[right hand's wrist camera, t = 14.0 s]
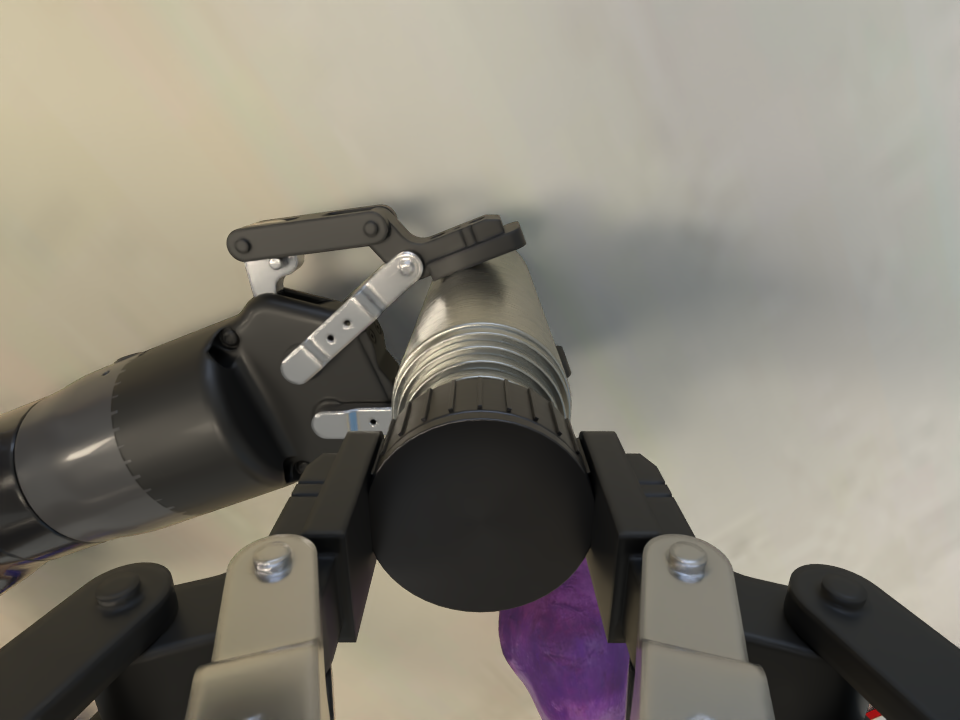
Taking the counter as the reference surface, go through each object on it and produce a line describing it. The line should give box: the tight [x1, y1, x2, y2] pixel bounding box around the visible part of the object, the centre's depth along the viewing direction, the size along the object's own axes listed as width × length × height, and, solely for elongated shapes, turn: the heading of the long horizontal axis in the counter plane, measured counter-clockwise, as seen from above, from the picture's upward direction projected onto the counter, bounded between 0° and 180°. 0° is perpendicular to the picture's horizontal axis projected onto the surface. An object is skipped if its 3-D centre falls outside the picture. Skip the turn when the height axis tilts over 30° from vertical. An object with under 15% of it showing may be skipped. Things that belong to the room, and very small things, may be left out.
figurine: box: [499, 557, 630, 720], centre depth 28 cm, size 9×10×15 cm
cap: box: [368, 377, 595, 612], centre depth 11 cm, size 4×4×2 cm
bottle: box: [391, 250, 572, 420], centre depth 20 cm, size 5×5×18 cm
